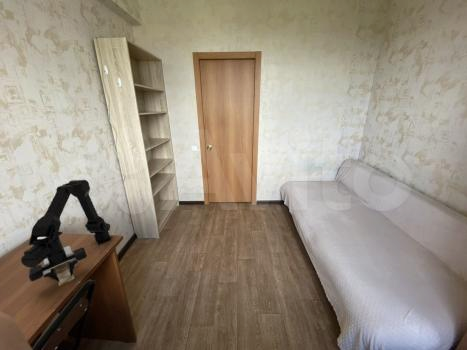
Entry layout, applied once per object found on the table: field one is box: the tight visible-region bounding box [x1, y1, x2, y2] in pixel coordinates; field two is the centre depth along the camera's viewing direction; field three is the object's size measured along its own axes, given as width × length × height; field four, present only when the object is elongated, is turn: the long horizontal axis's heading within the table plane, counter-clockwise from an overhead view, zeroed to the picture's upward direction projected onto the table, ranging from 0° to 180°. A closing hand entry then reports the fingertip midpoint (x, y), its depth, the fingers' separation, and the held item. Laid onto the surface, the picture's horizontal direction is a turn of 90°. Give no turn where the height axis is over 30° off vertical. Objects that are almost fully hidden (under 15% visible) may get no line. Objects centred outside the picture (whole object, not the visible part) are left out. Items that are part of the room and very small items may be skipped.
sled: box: [53, 262, 75, 287], centre depth 94 cm, size 6×18×6 cm, turn 46°
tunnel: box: [43, 245, 78, 279], centre depth 96 cm, size 10×8×8 cm
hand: (65, 278), depth 89 cm, fingers closed on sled, 4 cm apart
